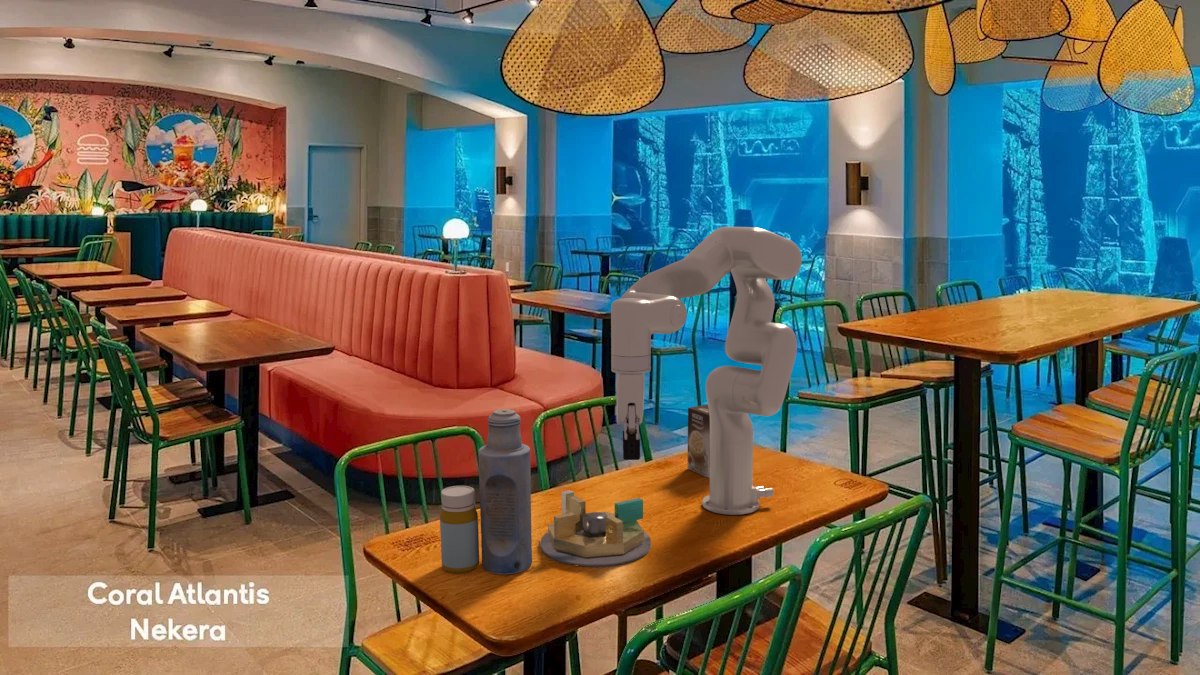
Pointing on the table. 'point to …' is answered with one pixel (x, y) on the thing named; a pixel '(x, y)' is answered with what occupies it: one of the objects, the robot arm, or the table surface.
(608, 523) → the wooden castle nut
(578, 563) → the hub
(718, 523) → the table surface
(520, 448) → the bottle
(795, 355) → the robot arm
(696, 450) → the coffee box
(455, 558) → the bottle
